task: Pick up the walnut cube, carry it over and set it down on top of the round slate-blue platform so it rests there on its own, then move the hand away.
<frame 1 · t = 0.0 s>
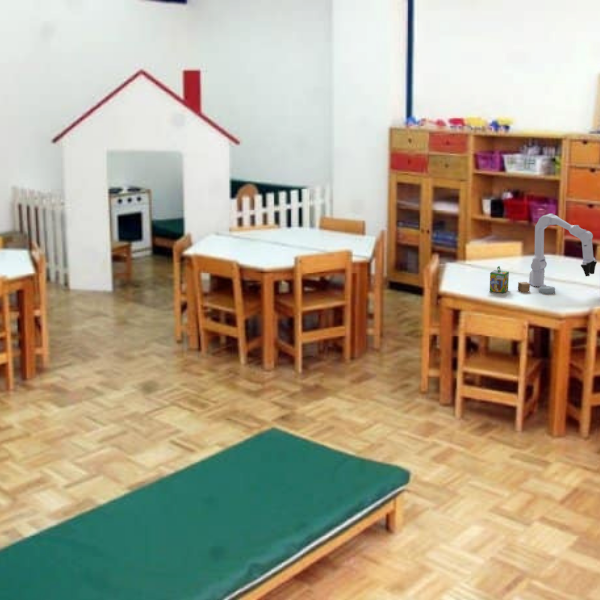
hand: (589, 275, 516), 11 cm above the table, tool pointing down, fingers open, 7 cm apart
platform: (546, 292, 520), on the table
cube: (523, 291, 523), on the table
chalk box: (498, 291, 524), on the table
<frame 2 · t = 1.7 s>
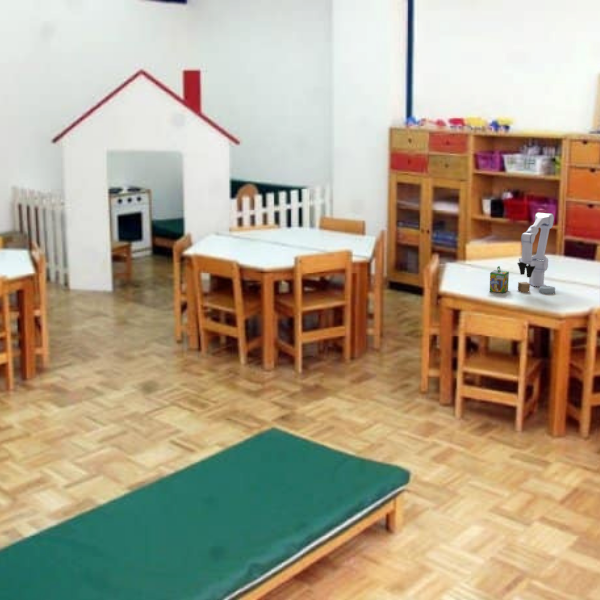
hand: (525, 275, 520), 9 cm above the table, tool pointing down, fingers open, 7 cm apart
nothing on the table moved.
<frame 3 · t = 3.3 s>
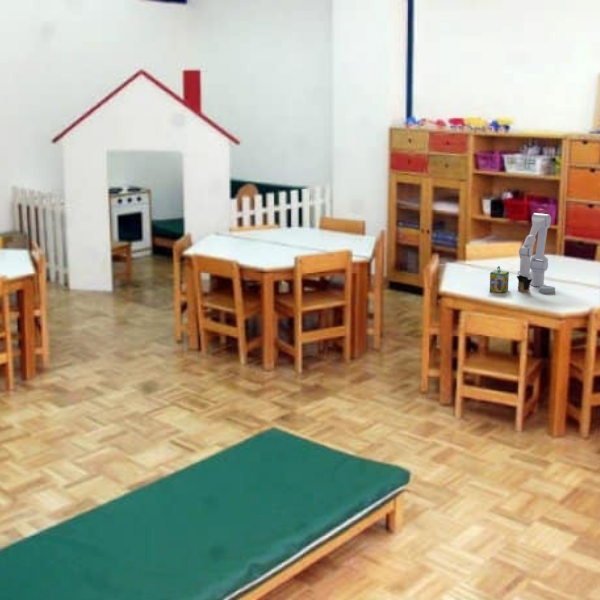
hand: (523, 288, 523), 1 cm above the table, tool pointing down, fingers closed on cube, 5 cm apart
cube: (523, 291, 523), on the table, touching gripper
everything else where it was.
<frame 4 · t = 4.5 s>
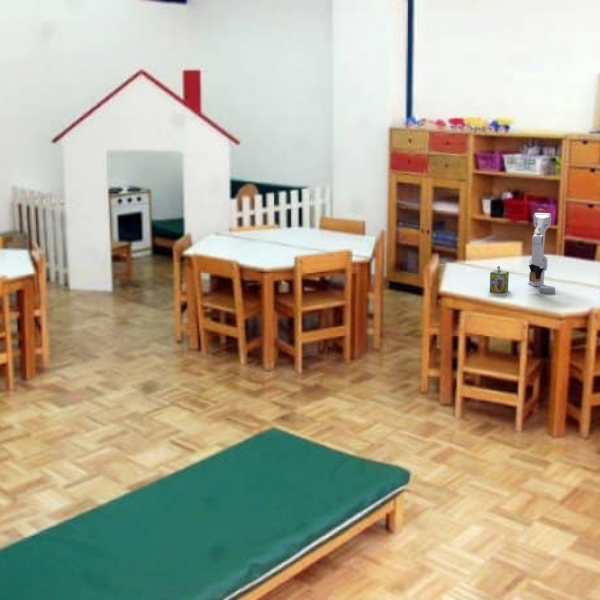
hand: (535, 277, 519), 8 cm above the table, tool pointing down, fingers closed on cube, 5 cm apart
cube: (534, 280, 520), point 7 cm above the table, touching gripper
everything else where it was.
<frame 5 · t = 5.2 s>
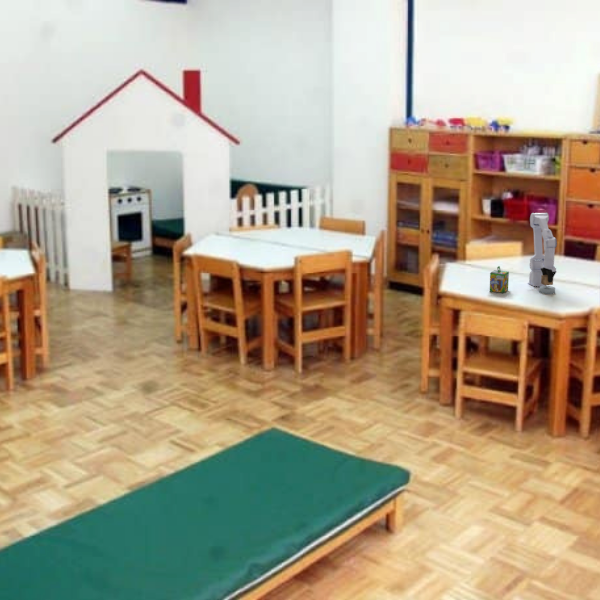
hand: (547, 281, 518), 7 cm above the table, tool pointing down, fingers closed on cube, 5 cm apart
cube: (546, 284, 518), point 5 cm above the table, touching gripper
everything else where it was.
when the fingers open (5 cm above the table, at t = 5.9 s): cube stays where it is, resting on platform.
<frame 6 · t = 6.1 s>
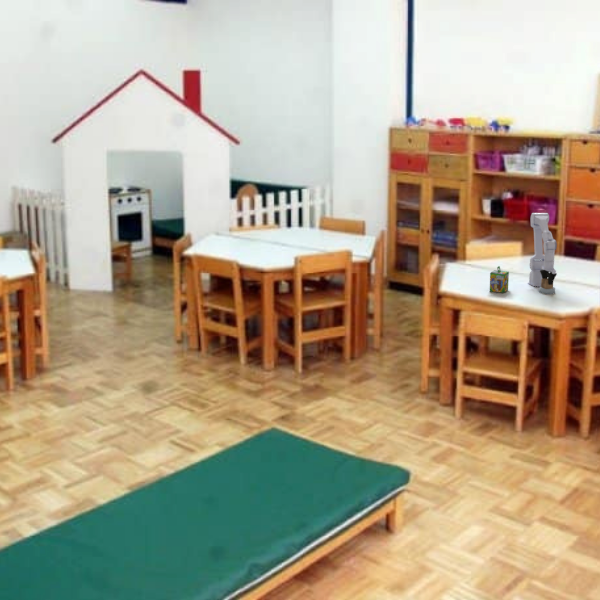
hand: (547, 283, 518), 5 cm above the table, tool pointing down, fingers open, 6 cm apart
platform: (546, 292, 520), on the table, touching cube
cube: (546, 287, 519), point 3 cm above the table, touching platform
everything else where it was.
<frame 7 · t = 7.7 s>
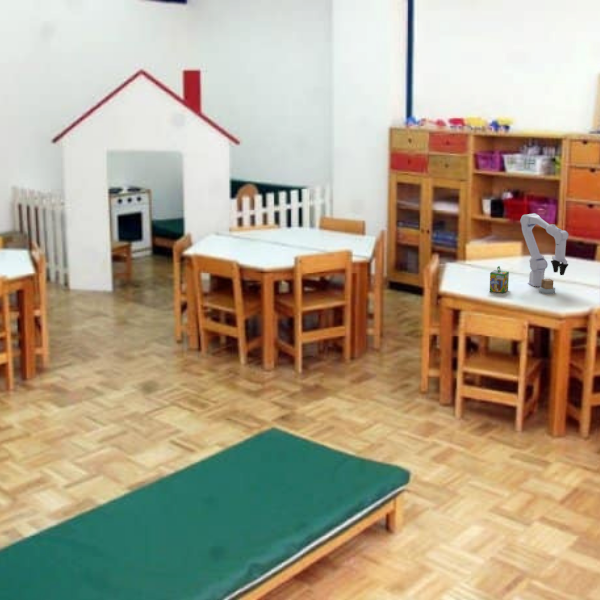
hand: (558, 273, 523), 10 cm above the table, tool pointing down, fingers open, 7 cm apart
nothing on the table moved.
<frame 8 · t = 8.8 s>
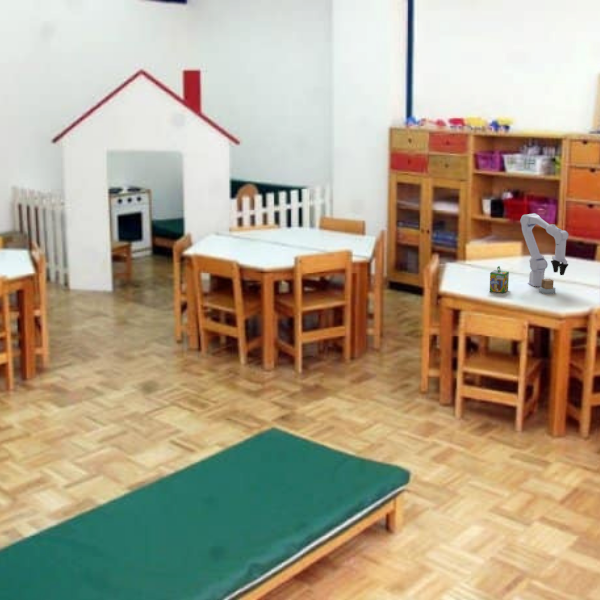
hand: (558, 273, 523), 10 cm above the table, tool pointing down, fingers open, 7 cm apart
nothing on the table moved.
at the end: cube 0.2 cm off-centre on the platform, point 3.0 cm above the platform's base; cube tilted 0°; cube touching platform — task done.
